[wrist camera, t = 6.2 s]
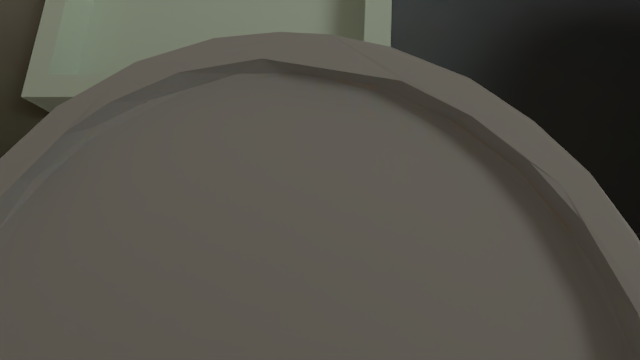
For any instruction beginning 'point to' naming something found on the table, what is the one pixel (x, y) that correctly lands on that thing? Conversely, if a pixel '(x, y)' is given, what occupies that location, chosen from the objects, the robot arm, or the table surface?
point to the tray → (172, 33)
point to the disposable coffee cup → (306, 217)
